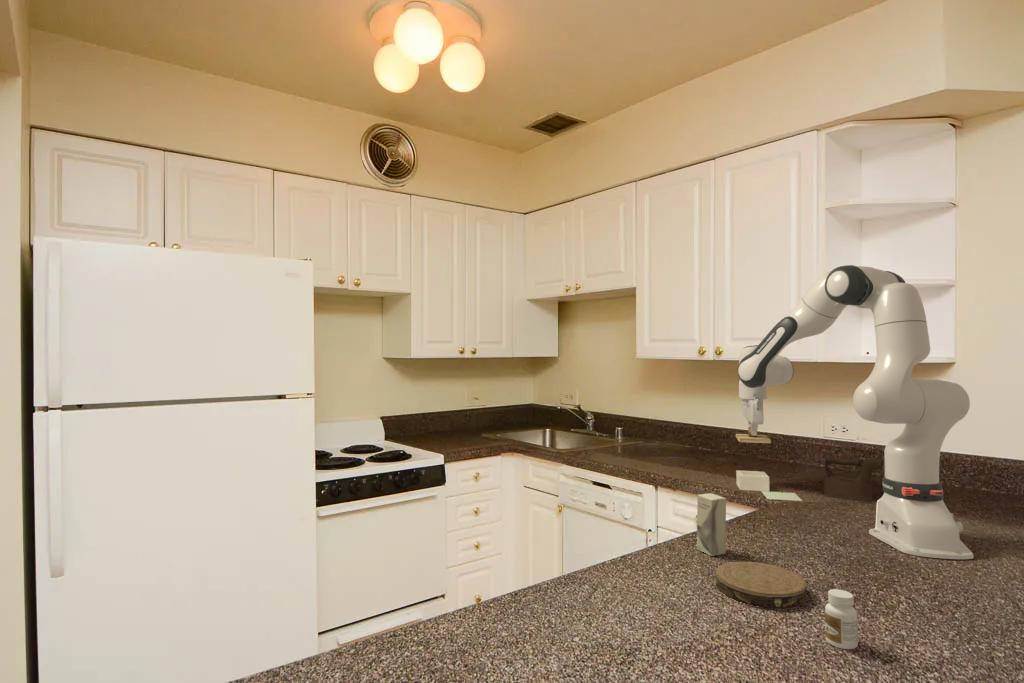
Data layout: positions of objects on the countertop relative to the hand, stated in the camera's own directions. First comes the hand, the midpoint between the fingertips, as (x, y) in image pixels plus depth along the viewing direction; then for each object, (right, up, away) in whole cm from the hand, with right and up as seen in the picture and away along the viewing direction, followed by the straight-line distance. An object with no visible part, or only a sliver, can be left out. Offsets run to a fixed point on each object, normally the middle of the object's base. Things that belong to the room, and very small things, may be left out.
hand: (752, 434), depth 191 cm
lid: (0, -2, 0) cm, 2 cm away
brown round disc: (-34, -17, -83) cm, 91 cm away
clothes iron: (+26, -18, -12) cm, 34 cm away
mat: (+4, -18, -12) cm, 22 cm away
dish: (0, -18, 0) cm, 18 cm away
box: (-36, -17, -61) cm, 73 cm away
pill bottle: (-30, -16, -102) cm, 108 cm away
